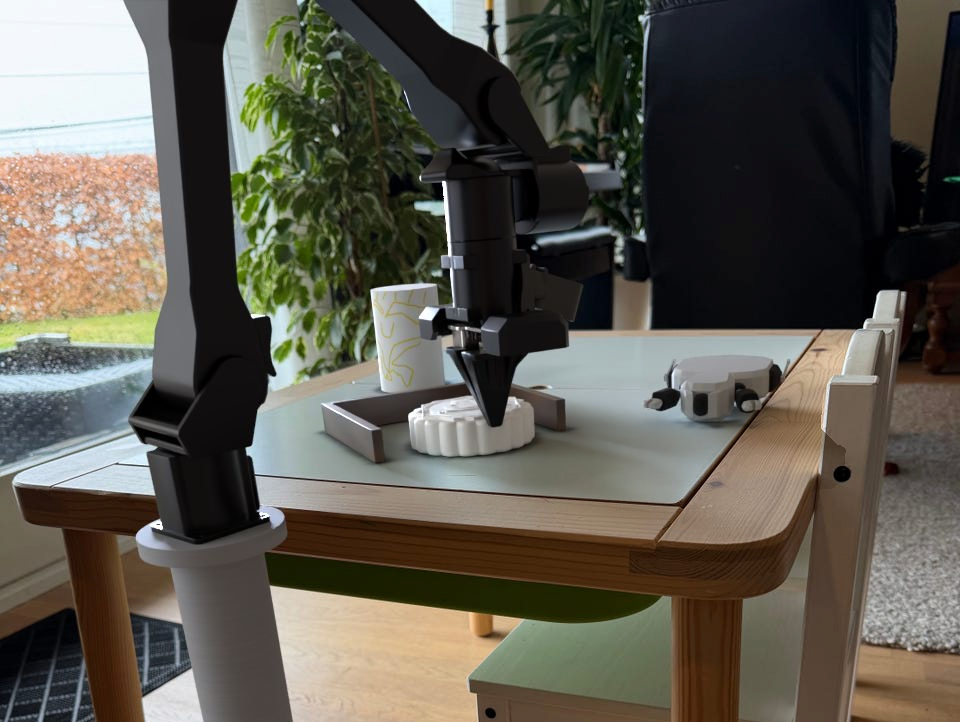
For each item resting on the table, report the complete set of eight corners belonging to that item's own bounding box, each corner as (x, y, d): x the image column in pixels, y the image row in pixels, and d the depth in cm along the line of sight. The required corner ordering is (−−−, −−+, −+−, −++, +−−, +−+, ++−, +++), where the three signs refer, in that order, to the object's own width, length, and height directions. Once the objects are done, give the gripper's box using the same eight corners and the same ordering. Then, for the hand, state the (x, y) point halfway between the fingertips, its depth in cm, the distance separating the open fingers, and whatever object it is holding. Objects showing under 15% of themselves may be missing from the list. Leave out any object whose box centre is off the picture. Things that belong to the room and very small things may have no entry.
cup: (370, 393, 123) (358, 292, 118) (399, 380, 130) (389, 284, 125) (429, 393, 120) (419, 289, 115) (455, 380, 127) (447, 282, 122)
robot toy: (764, 438, 91) (790, 394, 103) (765, 390, 89) (792, 350, 101) (636, 434, 96) (674, 392, 108) (635, 388, 94) (674, 351, 106)
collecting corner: (566, 429, 97) (565, 398, 96) (375, 463, 90) (371, 430, 89) (495, 404, 111) (493, 377, 109) (324, 432, 104) (320, 403, 102)
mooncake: (515, 422, 101) (513, 387, 100) (551, 447, 91) (549, 408, 89) (401, 437, 99) (397, 401, 97) (424, 463, 88) (420, 424, 87)
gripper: (624, 229, 77) (627, 429, 83) (519, 232, 92) (529, 399, 99) (495, 242, 73) (509, 450, 79) (409, 243, 89) (426, 416, 95)
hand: (495, 426), depth 88 cm, fingers closed
